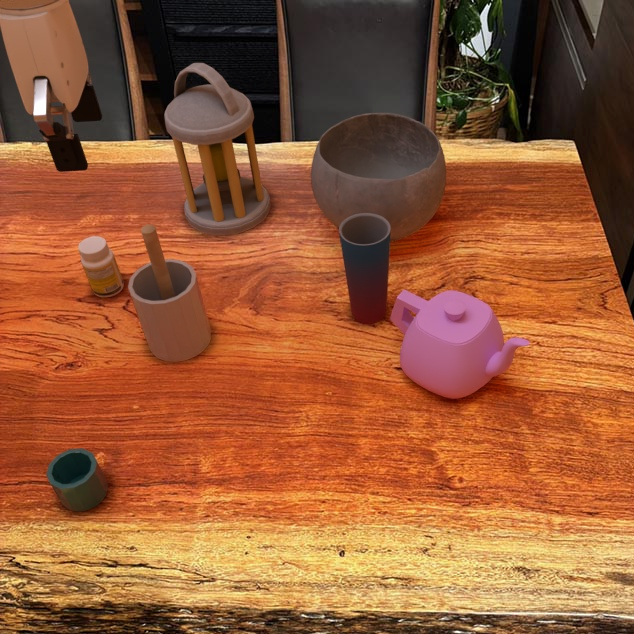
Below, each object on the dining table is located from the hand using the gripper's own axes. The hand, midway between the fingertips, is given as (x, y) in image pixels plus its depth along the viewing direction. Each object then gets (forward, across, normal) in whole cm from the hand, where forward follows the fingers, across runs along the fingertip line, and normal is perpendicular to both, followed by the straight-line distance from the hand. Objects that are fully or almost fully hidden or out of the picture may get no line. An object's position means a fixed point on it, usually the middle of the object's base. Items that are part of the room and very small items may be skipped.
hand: (81, 144), depth 88 cm
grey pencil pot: (+33, -2, +4) cm, 33 cm away
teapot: (+33, +8, +42) cm, 54 cm away
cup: (+33, -5, +31) cm, 45 cm away
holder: (+33, +23, -5) cm, 41 cm away
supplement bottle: (+33, -14, -8) cm, 37 cm away
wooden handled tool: (+32, -2, +4) cm, 33 cm away
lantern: (+33, -32, +9) cm, 47 cm away
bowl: (+33, -25, +34) cm, 53 cm away
